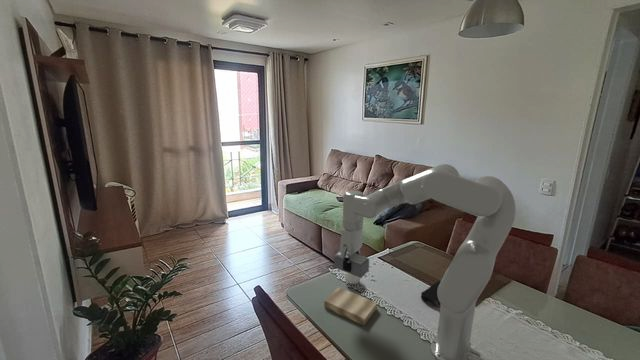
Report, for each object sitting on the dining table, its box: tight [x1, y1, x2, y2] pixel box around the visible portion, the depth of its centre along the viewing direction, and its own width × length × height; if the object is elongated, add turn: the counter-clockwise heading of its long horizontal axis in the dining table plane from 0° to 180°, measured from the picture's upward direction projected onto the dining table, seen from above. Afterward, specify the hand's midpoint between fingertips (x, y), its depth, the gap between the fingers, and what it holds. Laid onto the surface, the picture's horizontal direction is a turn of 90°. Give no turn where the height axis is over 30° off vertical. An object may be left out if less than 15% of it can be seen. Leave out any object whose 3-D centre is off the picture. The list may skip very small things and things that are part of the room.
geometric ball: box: [343, 272, 362, 285], centre depth 133 cm, size 8×8×8 cm
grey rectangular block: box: [333, 251, 370, 279], centre depth 112 cm, size 6×12×6 cm, turn 54°
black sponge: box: [420, 280, 441, 307], centre depth 123 cm, size 16×8×4 cm, turn 129°
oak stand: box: [323, 287, 378, 326], centre depth 116 cm, size 18×11×3 cm, turn 55°
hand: (351, 266), depth 112 cm, fingers closed on grey rectangular block, 6 cm apart
